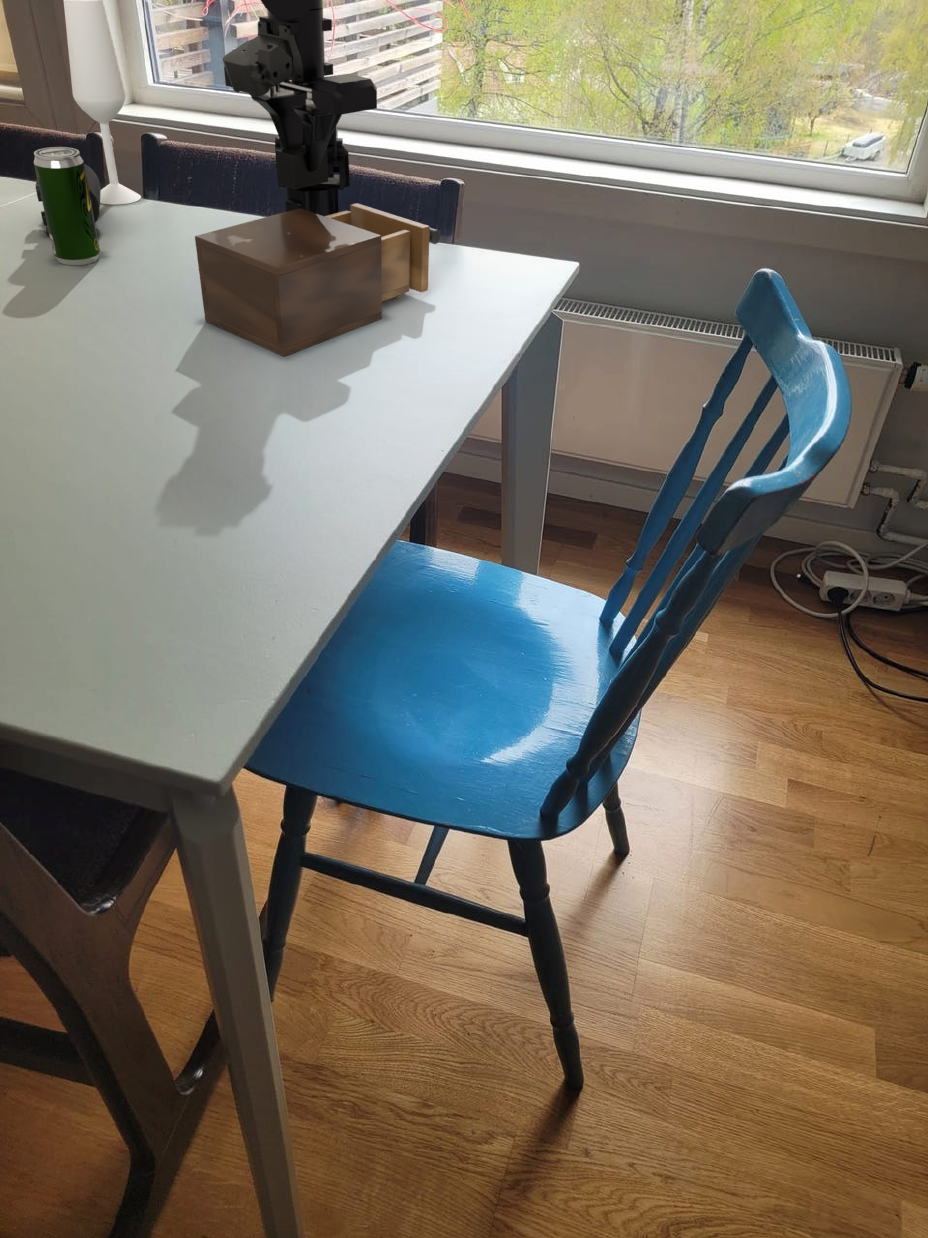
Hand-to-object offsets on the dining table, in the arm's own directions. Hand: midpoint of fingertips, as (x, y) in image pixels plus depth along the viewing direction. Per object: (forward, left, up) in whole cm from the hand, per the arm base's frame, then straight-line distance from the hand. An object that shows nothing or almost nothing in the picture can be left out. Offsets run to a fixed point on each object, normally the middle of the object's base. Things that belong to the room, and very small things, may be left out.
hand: (303, 168), depth 109 cm
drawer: (-1, +9, -11) cm, 14 cm away
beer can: (+17, -23, -12) cm, 31 cm away
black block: (0, 0, -2) cm, 2 cm away
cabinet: (+11, +9, -12) cm, 19 cm away
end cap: (+10, -34, -12) cm, 37 cm away
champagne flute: (-1, -41, -12) cm, 43 cm away
